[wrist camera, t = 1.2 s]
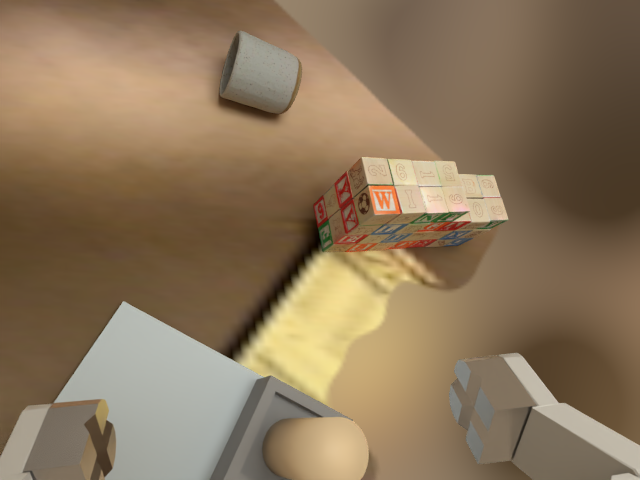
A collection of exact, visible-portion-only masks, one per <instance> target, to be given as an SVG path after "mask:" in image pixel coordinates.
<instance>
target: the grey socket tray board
mask: <svg viewBox="0 0 640 480" xmlns="http://www.w3.org/2000/svg"><path fill="white" fill-rule="evenodd" d="M95 399H104V400H106V403H107V405H108V408H109V412H108V416H107V420H108V421H109V422H111V423H112V424H113V425H114V429H115V434H116V454H115V460H114V465H113V469H112V470H111V471H110V472H109V473H108V474H107V476H106V477H105V480H361V478H362V477H363V475H364V473H365V471H366V468H367V464H368V458H369V451H368V444H367V440H366V438H365V435H364V433H363V432H362V430H361V429H360V427H359V426H358V425H357V424H356V423H354V422H353V420H352V419H350V418H348V417H346V416H344V415H342V414H341V413H339V412H337V411H335V410H333V409H332V408H330V407H328V406H326V405H324V404H322V403H321V402H319V401H317V400H315V399H313V398H311V397H310V396H308V395H306V394H304V393H302V392H300V391H299V390H297V389H295V388H293V387H291V386H289V385H287V384H286V383H284V382H282V381H280V380H278V379H276V378H275V377H273V376H268V377H263V376H261V375H259V374H257V373H255V372H253V371H251V370H250V369H248V368H246V367H244V366H242V365H240V364H239V363H237V362H235V361H233V360H231V359H229V358H227V357H226V356H224V355H222V354H220V353H218V352H216V351H214V350H213V349H211V348H209V347H207V346H205V345H203V344H202V343H200V342H198V341H196V340H194V339H192V338H190V337H189V336H187V335H185V334H183V333H181V332H179V331H177V330H176V329H174V328H172V327H170V326H168V325H166V324H165V323H163V322H161V321H159V320H157V319H155V318H153V317H152V316H150V315H148V314H146V313H144V312H142V311H141V310H139V309H137V308H135V307H133V306H131V305H129V304H128V303H126V302H124V301H123V302H122V304H121V305H120V307H119V308H118V310H117V311H116V313H115V314H114V316H113V317H112V319H111V320H110V321H109V323H108V324H107V326H106V327H105V329H104V330H103V332H102V333H101V335H100V336H99V337H98V339H97V340H96V342H95V343H94V345H93V346H92V348H91V349H90V351H89V352H88V354H87V355H86V356H85V358H84V359H83V361H82V362H81V364H80V365H79V367H78V368H77V370H76V371H75V373H74V374H73V375H72V377H71V378H70V380H69V381H68V383H67V384H66V386H65V387H64V389H63V390H62V391H61V393H60V394H59V396H58V397H57V399H56V400H55V402H54V403H60V402H72V401H83V400H95Z"/></svg>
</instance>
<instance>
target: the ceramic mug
mask: <svg viewBox="0 0 640 480" xmlns="http://www.w3.org/2000/svg"><path fill="white" fill-rule="evenodd" d="M301 77H302V65H301V62H300V60H299V59H298V58H297V57H295V56H294V55H292V54H291V53H289V52H287V51H285V50H283V49H280V48H278V47H275V46H273V45H271V44H269V43H267V42H265V41H262V40H260V39H258V38H256V37H254V36H252V35H250V34H248V33H246V32H243V31H238V32H237V33H236V35H235V36H234V38H233V41H232V43H231V46H230V49H229V52H228V55H227V58H226V61H225V65H224V69H223V72H222V78H221V82H220V96H221V97H222V98H225V99H229V100H232V101H235V102H238V103H241V104H244V105H248V106H251V107H255V108H258V109H261V110H264V111H267V112H271V113H277V114H282V113H284V112H286V111H287V110H288V109H289V108H290V107H291V105H292V104H293V102H294V100H295V98H296V95H297V93H298V90H299V86H300V82H301Z"/></svg>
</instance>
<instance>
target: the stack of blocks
mask: <svg viewBox="0 0 640 480" xmlns="http://www.w3.org/2000/svg"><path fill="white" fill-rule="evenodd" d="M314 210H315V216H316V221H317V226H318V229H319V235H320V240H321V245H322V251H323V252H341V251H345V252H355V251H378V250H387V249H398V248H406V247H407V248H408V247H442V246H457V245H461V244H463V243H464V242H467V241H469V240H471V239H473V238H475V237H477V236H479V235H481V234H483V233H485V232H487V231H489V230H490V229H491V228H493V227H495V226H497V225H499V224H501V223H504V222H505V221H507V220H508V217H507V214H506V211H505V208H504V204H503V201H502V198H500V193H499V190H498V187H497V184H496V181H495V178H494V176H493V175H468V174H458V171H457V168H456V164H455V162H453V161H411V160H403V159H386V158H373V157H362V158H360V159H359V160H358V161H357V162H356V163H355V164H354V165H353V166H352V168H351V169H350V170H349V171H346V172H345V173H344V174H343V175H342V176H341V177H340V178H339V179H338V180H337V181H336V182H335V184H334V185H333V186H332V187H331V188H330V189H329V190H328V191H327V192H326V193H325V194H324V195H323V196H322V197H321V198H320V199H319V200H318V201H317V202H316V203H315V204H314Z"/></svg>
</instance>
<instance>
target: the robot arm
mask: <svg viewBox="0 0 640 480" xmlns="http://www.w3.org/2000/svg"><path fill="white" fill-rule="evenodd" d="M454 372H455V374H456V376H457V377H458V378H457V379H456V380H455V381H454V382H453V383H452V384H451V388H450V393H449V397H450V406H451V409H452V412H453V415H454V417H455V419H456V421H457V423H458V424H459V425H460V426H462V427H463V428H465V429H466V430H467V436H466V441H467V443H468V445H469V447H470V449H471V451H472V453H473V455H474V457H475V459H476V460H477V462H478V464H485V463H493V462H502V461H510V460H513V463H514V464H515V465H516V466H517V467H519V468H520V469H521V470H522V471H523V472H525V473H526V474H527V475H528V476H529V477H531V478H532V479H533V480H640V446H639V445H638V444H636V443H634V442H632V441H630V440H628V439H627V438H625V437H623V436H622V435H620V434H618V433H616V432H615V431H613V430H611V429H609V428H607V427H606V426H604V425H602V424H601V423H599V422H597V421H595V420H594V419H592V418H590V417H588V416H587V415H584V414H583V413H581V412H580V411H578V410H576V409H574V408H573V407H571V406H569V405H567V404H566V403H558V402H557V401H556V399H555V398H554V397H553V395H552V394H551V393H550V392H549V390H548V389H547V388H546V386H545V385H544V384H543V382H542V381H541V380H540V379H539V377H538V376H537V375H536V374H535V372H534V371H533V369H532V368H531V367H530V366H529V364H528V363H527V362H526V360H525V359H524V358H523V357H522V356H521V355H520V354H518V353H511V354H503V355H497V356H496V355H494V356H486V357H477V358H468V359H460V360H459V361H458V362H457V363H456V366H455V370H454ZM108 412H109V408H108V405H107V403H106V400H104V399H95V400H83V401H72V402H60V403H52V404H41V405H29V406H27V407H26V408H25V409H24V410H23V411H22V413H21V415H20V417H19V419H18V421H17V423H16V425H15V427H14V429H13V431H12V433H11V435H10V438H9V440H8V442H7V444H6V446H5V448H4V450H3V452H2V454H1V456H0V480H105V477H106V476H107V474H108V473H109V472H110V471H111V470H112V469H113V465H114V460H115V454H116V434H115V429H114V425H113V424H112V423H111V422H109V421H108V420H107V416H108Z"/></svg>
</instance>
